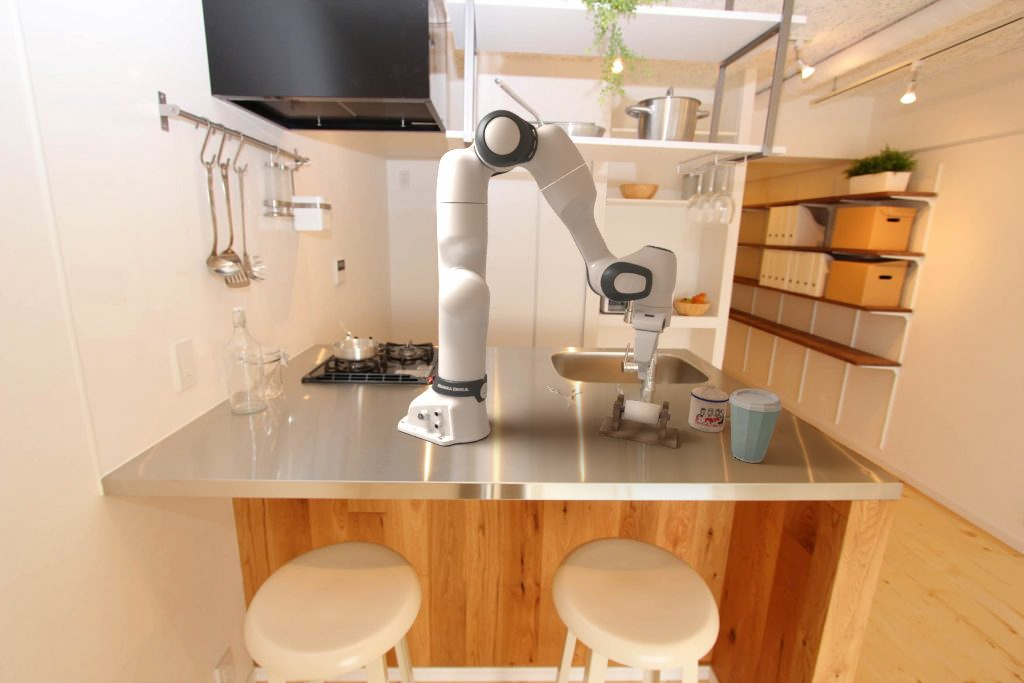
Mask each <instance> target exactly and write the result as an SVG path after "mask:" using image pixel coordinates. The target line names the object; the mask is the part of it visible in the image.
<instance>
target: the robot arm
mask: <svg viewBox="0 0 1024 683" xmlns="http://www.w3.org/2000/svg"><path fill="white" fill-rule="evenodd" d="M439 161H440V162H439V167H438V174H437V181H436V182H437V184H436V225H437V227H436V228H437V229H436V230H437V232H436V233H437V257H438V258H437V261H438V262H437V263H438V264H437V265H438V371H437V372H435V373H433V374H432V376H430V377H428V378H427V379H428V380H429V381H428V383H432V384H431V387H430V388H428V389H427V390H425V391H424V392H422V393H421V394H419V395H418V396H417V397H415V398H414V399H413V400H412V401H411V403H410V404H409V407H408V411H407V415H405V416H404V417H403V418H402V419H401V420H400V421H399V422H398V424H397V431H399V432H403V433H406V434H408V435H411V436H414V437H417V438H419V439H423V440H425V441H428V442H431V443H434V444H437V445H440V446H450V445H451V446H452V445H454V444H459V443H461V444H462V443H470V442H476V441H479V440H481V439H484V438H486V437H487V436H489V434H490V433H491V430H492V429H491V426H490V423H489V416H488V411H487V410H488V409H487V400H486V399H487V396H488V374H487V373H486V369H487V343H488V342H487V340H488V333H489V332H488V331H489V330H488V329H489V322H490V321H489V318H490V306H491V292H490V289H489V285H488V284H487V280H486V278H487V277H486V275H487V253H488V244H489V240H488V239H489V228H488V227H489V213H488V212H489V211H488V210H489V207H488V206H489V204H488V203H489V202H488V201H489V200H488V199H489V197H488V193H489V192H488V191H489V190H488V189H489V182H490V179H491V178H493V177H496V176H499V175H503V174H506V173H509V172H511V171H512V170H514V169H515V168H518V167H519V168H523V169H525V170H526V171H527V172H528V173H530V175H531V176H532V177H533V178H534V181H535V182H536V184H537V187H538V188H539V189H540V192H541V194H542V196H543V197H544V199H545V200H546V202H547V204H548V205H549V207H550V208H551V209H552V210H553V212H554V213H555V214H556V215H557V217H558V218H559V219H560V221H561V223H563V224H564V225H565V227H566V229H567V230H568V231H569V234H570V235H571V237H572V239H573V241H574V242H575V245H576V247H577V248H578V251H579V253H580V255H581V256H582V257H581V258H583V260H584V263H585V270H586V272H585V273H586V281H587V284H588V287H589V288H590V289H591V291H592V292H593V293H594V294H595V295H597V296H600V297H603V298H605V299H606V300H608V301H611V302H615V303H625V302H633V304H632V313H631V318H630V319H631V321H630V322H631V324H632V325H631V327H632V329H634V334H633V362H634V363H635V364H637V379H638V380H642V381H643V380H646V379H647V375H648V374H647V373H648V370H650V368H651V363H652V360H653V358H654V356H655V353H656V351H657V348H658V346H659V341H660V340H659V338H660V336H661V334H663V333H664V331H665V330H664V329H666V328H669V327H670V326H671V322H672V321H671V319H672V312H673V304H674V303H673V293H674V291H675V289H676V284H677V273H678V261H677V256H676V254H675V253H674V251H672V250H671V249H667V248H664V247H662V246H661V247H660V246H655V245H651V244H650V245H648V244H647V245H644V246H643V247H641V248H640V249H638V250H637V251H634V252H632V253H630V254H627V255H625V256H623V257H619V258H618V257H616V256H615V255H614V254H613V253H612V252H611V251H610V249H609V248H608V246H607V244H606V242H605V239H604V237H603V236H602V233H601V232H600V229H599V227H598V225H597V223H596V219H595V211H594V210H595V205H596V201H597V196H598V195H597V194H598V192H597V186H596V184H595V181H594V177H593V175H592V173H591V171H590V169H589V166H588V165H587V163H586V161H585V159H584V157H583V156H582V154H581V152H580V150H579V149H578V147H577V146H576V144H575V143H574V141H573V140H572V139H571V137H570V136H569V135H568V133H567V132H566V131H565V130H564V128H562V127H561V126H560V125H557V124H553V123H552V124H545V125H543V126H540V127H538V128H536V126H535V125H533V124H532V123H530V122H528V121H527V120H525V119H524V118H522V117H521V116H520V115H518V114H516V113H514V112H513V111H510V110H507V109H497V110H493V111H491V112H489V113H487V114H486V115H484V116H483V117H482V118H481V120H480V121H479V122H478V124H477V127H476V130H475V134H474V138H473V142H472V144H471V145H470V146H468V147H467V148H455V149H453V150H449V151H448V152H446V153H445V154H444V155H443V156H442V157H441V159H440V160H439Z"/></svg>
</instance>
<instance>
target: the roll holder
mask: <svg viewBox="0 0 1024 683" xmlns="http://www.w3.org/2000/svg"><path fill="white" fill-rule="evenodd" d="M624 401H625V394H622V393H621V394H620V393H618V395H617V397H616V400H615V401H614V402H613V409H612V416H609V415H606V416H605V418H604V419H603V422H602V423H601V426H600V428H599V430H598V435H601V434H604V435H603V436H606V435H608V437H612V436H614V437H613V438H617V437H618V438H617V439H622V438H624V440H629V441H634V442H639V443H644V444H648V445H649V444H650V445H654V446H659V447H665V448H672V449H675V448H677V443H678V442H677V441H678V434H679V428H676V427H671V426H667V425H668V420H667V414H668V413H669V410H670V401H666V400H663V402H662V406H661V410H660V412H661V417H660V419H659V424H658V426H657V425H651V424H645V423H640V422H634V421H628V420H624V418H623V415H624V414H623V412H620V408H621V406H624Z"/></svg>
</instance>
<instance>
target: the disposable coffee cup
mask: <svg viewBox="0 0 1024 683" xmlns="http://www.w3.org/2000/svg"><path fill="white" fill-rule="evenodd" d="M728 401H729V402H730V404H729V405H730V406H729V407H730V415H731V419H730V447H731V448H730V450H731V453H733V454H732V457H734V458H735V457H736V459H737V460H739V459H740V461H742V462H745V463H751V464H753V463H754V464H755V463H761V462H762V461H763V460H764V459H765V458H766V454H767V451H768V448H769V444H770V441H771V439H772V436H773V433H774V429H775V426H776V425H777V421H778V418H779V416H780V413H781V410H782V411H783V403H782V402H781V399H780V395H778V394H776V393H774V392H771V391H769V390H765V389H761V388H741V389H737V390H734V391H733V392H732V393H730V394H729V400H728ZM730 415H729V416H730Z"/></svg>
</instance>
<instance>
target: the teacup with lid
mask: <svg viewBox="0 0 1024 683" xmlns="http://www.w3.org/2000/svg"><path fill="white" fill-rule="evenodd" d="M716 386H717V385H716V384H715V383H714V382H708V383H707V385H703V386H701V387H695V388H693V389H692V390H691V392H690V393H691V398H690V400H691V401H690V406H689V413H688V419H687V420H688V422H687V423H688V425H689V426H690V427H691V428H693V429H695V430H698V431H700V432H706V433H719V432H722V431H723V430H724V427H725V422H726V420H727V421H730V420H731V415H727V408H728V405H730V402H729V397H730V395H729V394H728V393H726V392H725V391H724V390H721V389H720V388H718V387H716Z"/></svg>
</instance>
